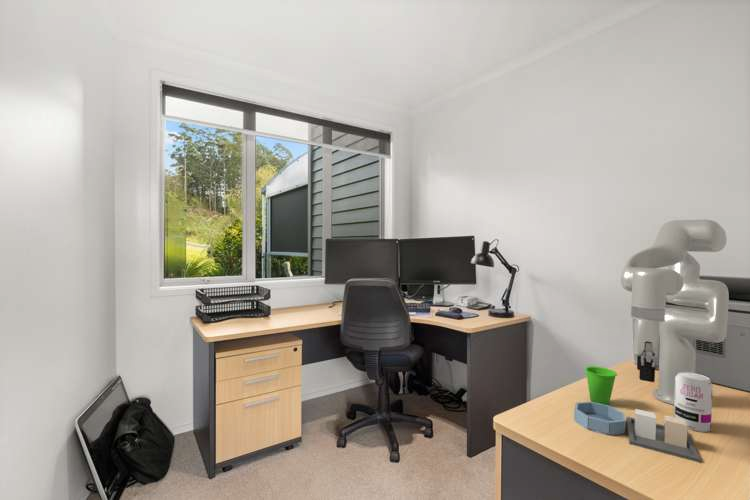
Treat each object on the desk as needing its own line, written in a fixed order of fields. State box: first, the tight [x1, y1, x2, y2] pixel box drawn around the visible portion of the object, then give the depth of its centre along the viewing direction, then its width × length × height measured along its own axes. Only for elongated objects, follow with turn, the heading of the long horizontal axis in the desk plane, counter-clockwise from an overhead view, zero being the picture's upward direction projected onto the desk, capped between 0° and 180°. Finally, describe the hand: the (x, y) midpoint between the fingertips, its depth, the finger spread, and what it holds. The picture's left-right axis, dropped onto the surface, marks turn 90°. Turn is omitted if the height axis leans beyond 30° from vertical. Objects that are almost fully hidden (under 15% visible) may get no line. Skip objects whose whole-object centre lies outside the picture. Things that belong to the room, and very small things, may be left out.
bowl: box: [573, 400, 626, 436], centre depth 104 cm, size 12×12×4 cm
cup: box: [584, 365, 618, 406], centre depth 119 cm, size 9×9×11 cm
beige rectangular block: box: [662, 415, 688, 448], centre depth 95 cm, size 4×4×6 cm
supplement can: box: [673, 372, 713, 433], centre depth 104 cm, size 8×8×15 cm
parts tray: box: [626, 416, 701, 463], centre depth 97 cm, size 16×14×1 cm
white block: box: [634, 408, 657, 440], centre depth 99 cm, size 4×4×6 cm
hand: (645, 375), depth 98 cm, fingers open, 9 cm apart
